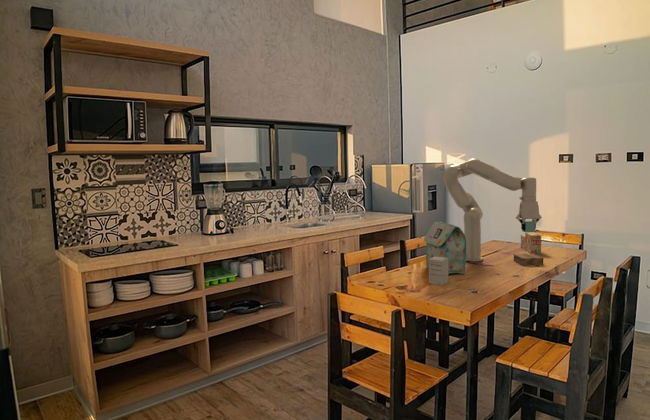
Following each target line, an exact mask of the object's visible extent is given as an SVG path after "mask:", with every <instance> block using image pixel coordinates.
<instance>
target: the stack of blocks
mask: <svg viewBox="0 0 650 420" xmlns="http://www.w3.org/2000/svg"><path fill="white" fill-rule="evenodd" d="M520 248H521V249H522V250H524V251H525V252H527V254H535V255H541V254H542V235H541V234H539V233H538V232H537V233H536V231H535V232H524V234H520Z"/></svg>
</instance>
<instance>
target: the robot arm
mask: <svg viewBox="0 0 650 420" xmlns="http://www.w3.org/2000/svg"><path fill="white" fill-rule="evenodd" d="M472 174H473V175H476V176H478V177H480V178H482V179H484V180H487V181H488V182H491V183H494V184H495V185H498V186H500V187H502V188H504V189H507V190H509V191H511V192H515V191H518V190H521V196H519V200H521V201H520V204H519V208H518V214H517V215H516V217H515V219H516V220H517V221H518V222H520V225H521V228H520V229H521V231H522V230H523V231H525V221H527V220H531V221H534V222H535V230H536V229H537V228H536V227H537V223H538V222H539V221H540V220H541V219H542V218H543V217H542V215H541V214H540V208H539V202H538V201H537V178H535V177H515V176H512V175H509V174H508V173H505V172H503V171H501V170H499V169H498V168H497V167H495V166H493V165H491V164H488V163H485V162H483V161H481V160H479V159H478V158H470V159H469V160H466V161H464V162H462V163H458V164H453V165H450V166H448V167H447V168H446V169H445V171H444V173H443V179H442V180H443V183H444V186H445V188H446V190H447V192H448V193H449V195H450V197H451V198H452V200H453V201H454V203H455V205H456V206H457V207H458V208H460V209H462V210H463V212H464V214H463V228H464V230H463V233H464V234H465V237H466V242H467V248H466V262H481V261H484V257H482V256H481V255H482V254H481V253H482V251H481V247H482V246H481V245H482V244H481V242H482V241H481V240H482V239H481V237H482V236H481V235H482V231H481V229H482V227H481V226H482V225H481V220H482V219H483V215H484V214H483V211H482V209H481V207H480V206H479V204H478V202H477V201H476V200H475V198H474V196H473V195H472V194H471V193H469V192H467V191H465V188H464V187H463V185H462V184H461V183H460V181H459V179H460V178H464V177H466V176H470V175H472ZM523 231H522V232H523Z"/></svg>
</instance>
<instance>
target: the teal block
mask: <svg viewBox="0 0 650 420" xmlns="http://www.w3.org/2000/svg"><path fill="white" fill-rule="evenodd" d="M521 231H522V232H524V233H529V232H535V233H536V229H535V222H534V221H532V220H525V231H523V230H522V229H521Z"/></svg>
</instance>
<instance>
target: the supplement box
mask: <svg viewBox="0 0 650 420" xmlns="http://www.w3.org/2000/svg"><path fill="white" fill-rule="evenodd" d="M428 283H431V285H435V284H438V285H437V286H441V285H443V286H444V285H446V284H448V283H449V274H448V258H444V257H433V258H430V259H429V268H428Z"/></svg>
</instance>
